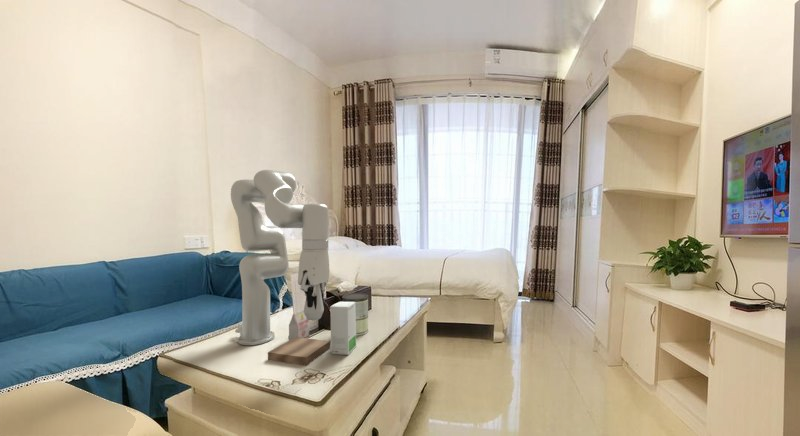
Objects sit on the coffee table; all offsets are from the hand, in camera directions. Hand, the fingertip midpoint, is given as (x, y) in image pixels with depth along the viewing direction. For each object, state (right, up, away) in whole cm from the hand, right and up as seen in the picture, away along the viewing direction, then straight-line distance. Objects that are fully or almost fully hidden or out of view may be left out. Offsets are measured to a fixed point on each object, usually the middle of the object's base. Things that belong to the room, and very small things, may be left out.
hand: (315, 307), depth 93 cm
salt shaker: (0, -4, 0) cm, 4 cm away
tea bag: (-13, -19, +24) cm, 33 cm away
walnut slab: (-8, -18, +10) cm, 22 cm away
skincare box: (+6, -19, +13) cm, 23 cm away
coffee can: (+8, -19, +32) cm, 38 cm away
